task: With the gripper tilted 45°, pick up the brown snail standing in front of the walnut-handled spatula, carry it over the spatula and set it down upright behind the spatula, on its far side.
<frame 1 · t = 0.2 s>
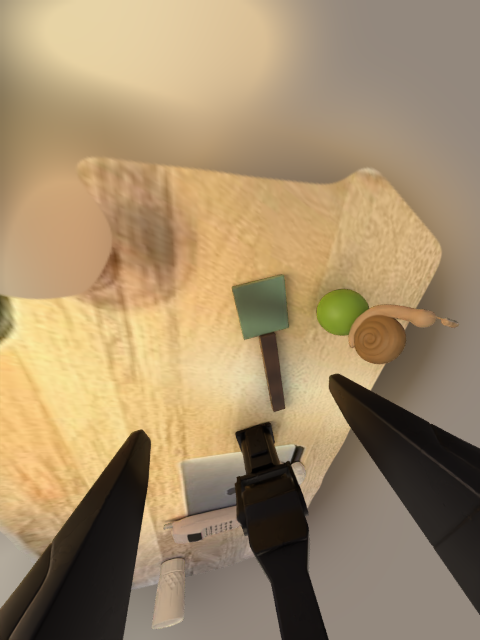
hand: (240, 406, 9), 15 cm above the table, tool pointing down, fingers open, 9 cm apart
white animal figurine: (278, 470, 43), on the table
spatula: (269, 354, 27), on the table
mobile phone: (218, 512, 48), on the table
white cup: (173, 561, 57), on the table
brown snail: (329, 299, 25), on the table
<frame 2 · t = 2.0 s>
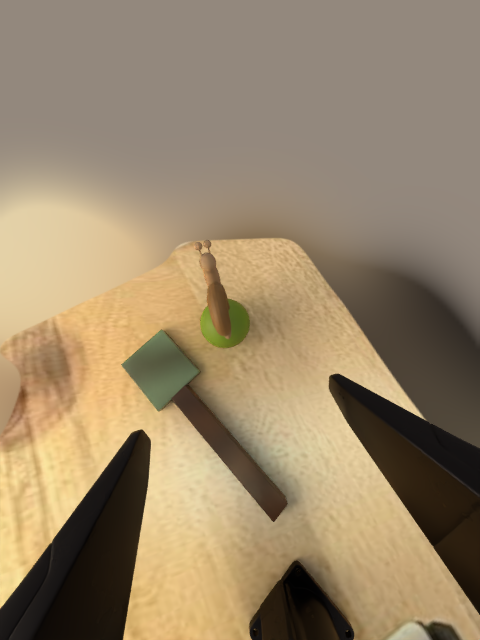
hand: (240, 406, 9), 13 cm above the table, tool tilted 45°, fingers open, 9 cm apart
spatula: (204, 417, 21), on the table
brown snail: (226, 325, 24), on the table
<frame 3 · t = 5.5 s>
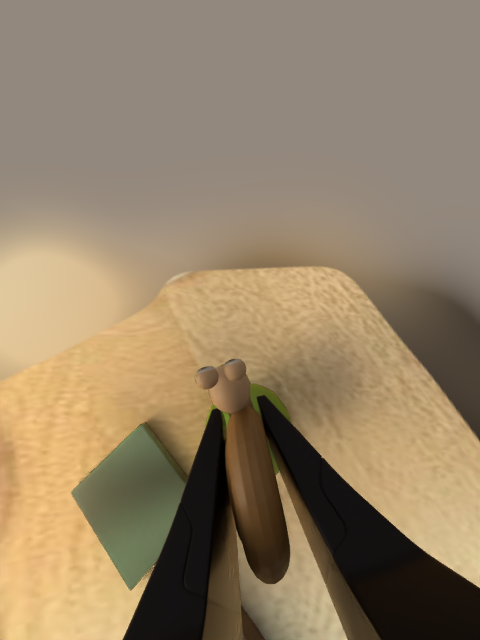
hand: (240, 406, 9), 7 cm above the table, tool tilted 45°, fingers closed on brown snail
spatula: (212, 596, 12), on the table
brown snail: (245, 411, 15), on the table, touching gripper
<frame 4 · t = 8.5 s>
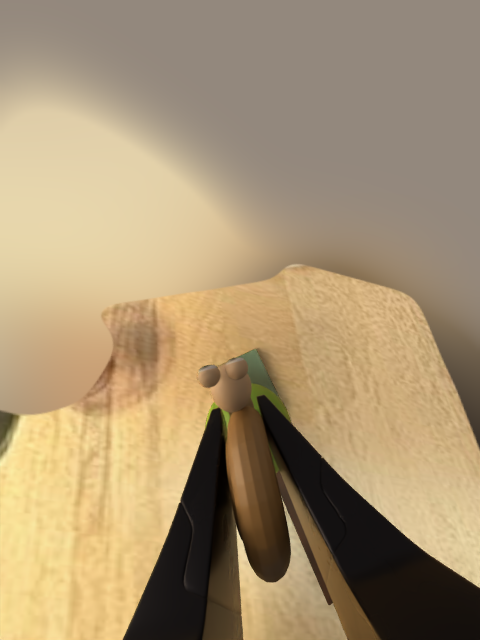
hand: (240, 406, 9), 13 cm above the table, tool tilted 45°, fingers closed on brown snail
spatula: (275, 457, 20), on the table
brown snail: (245, 411, 15), point 7 cm above the table, touching gripper
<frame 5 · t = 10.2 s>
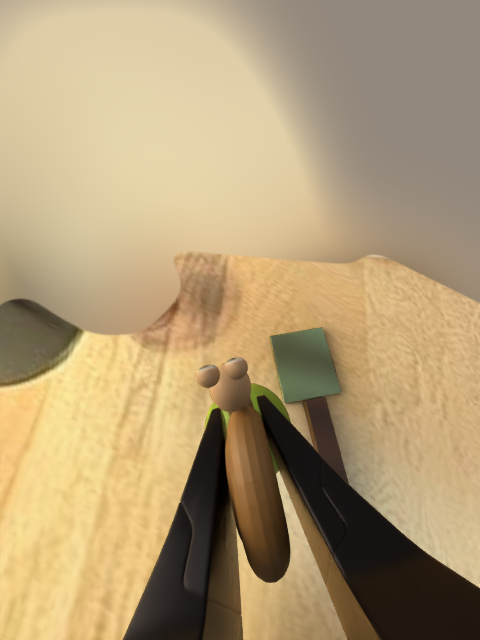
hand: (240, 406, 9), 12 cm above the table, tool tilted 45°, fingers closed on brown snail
spatula: (322, 439, 19), on the table
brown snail: (244, 411, 15), point 5 cm above the table, touching gripper
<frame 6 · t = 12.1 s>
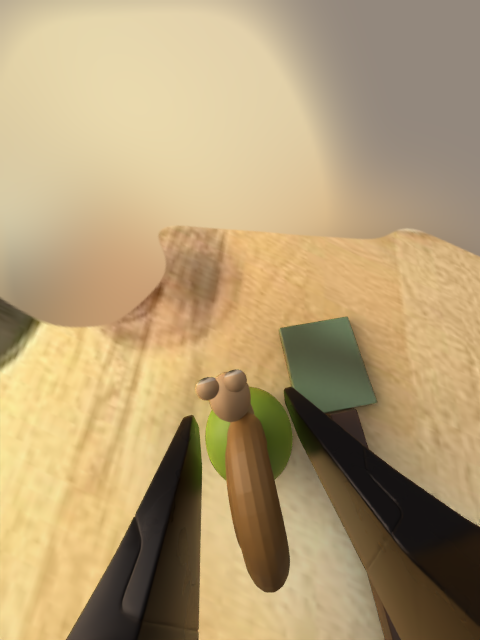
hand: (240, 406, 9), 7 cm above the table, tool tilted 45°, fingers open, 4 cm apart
spatula: (352, 467, 14), on the table
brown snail: (245, 414, 15), on the table
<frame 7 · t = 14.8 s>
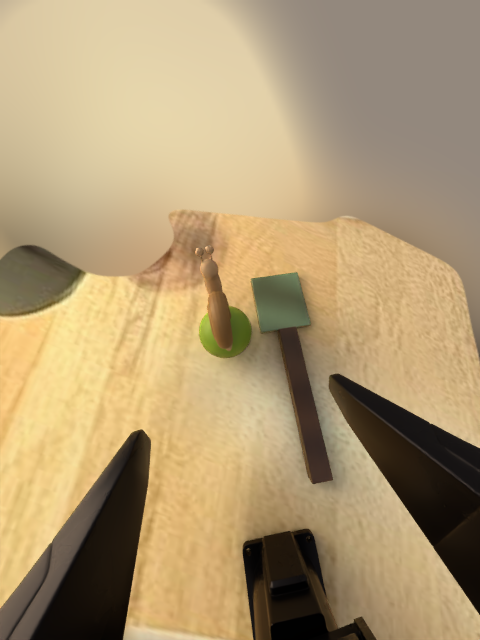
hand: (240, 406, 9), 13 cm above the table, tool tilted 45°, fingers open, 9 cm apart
spatula: (292, 363, 22), on the table
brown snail: (226, 332, 23), on the table
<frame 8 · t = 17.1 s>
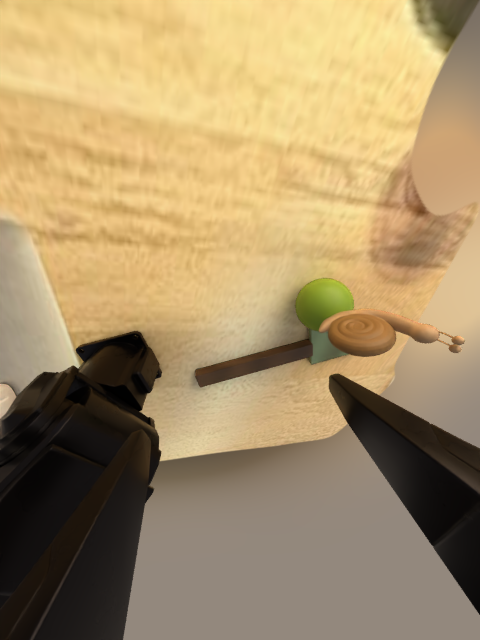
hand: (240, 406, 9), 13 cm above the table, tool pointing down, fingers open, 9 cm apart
spatula: (279, 352, 25), on the table
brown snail: (313, 294, 22), on the table
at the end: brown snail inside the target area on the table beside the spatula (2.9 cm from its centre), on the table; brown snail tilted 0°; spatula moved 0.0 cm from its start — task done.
